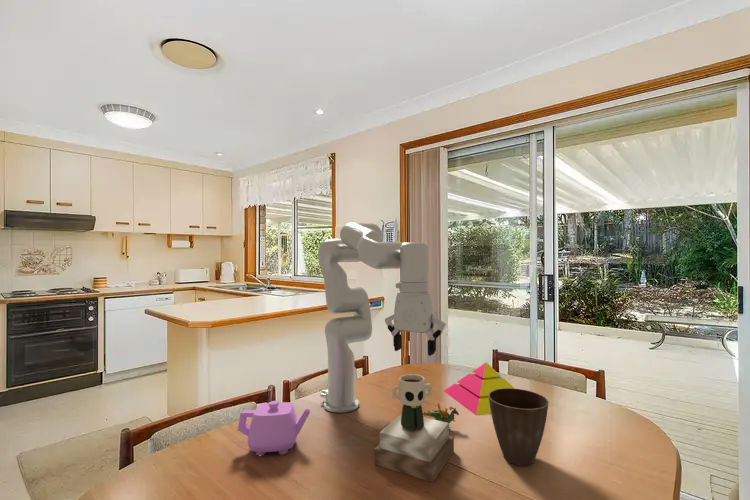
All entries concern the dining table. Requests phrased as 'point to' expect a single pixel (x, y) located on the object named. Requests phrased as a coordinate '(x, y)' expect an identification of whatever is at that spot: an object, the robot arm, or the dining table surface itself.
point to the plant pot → (518, 423)
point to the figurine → (442, 414)
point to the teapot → (272, 427)
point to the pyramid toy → (477, 389)
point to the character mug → (412, 399)
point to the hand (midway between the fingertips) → (414, 352)
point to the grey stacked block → (415, 448)
